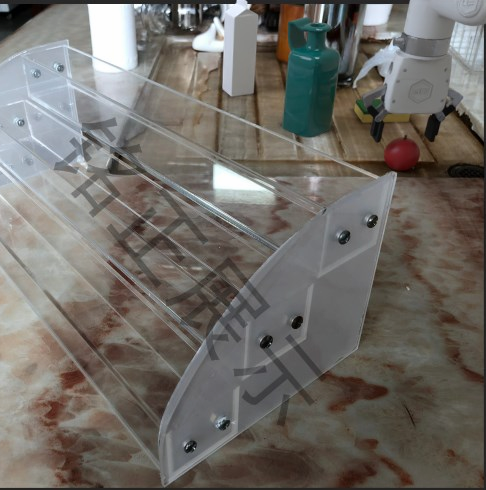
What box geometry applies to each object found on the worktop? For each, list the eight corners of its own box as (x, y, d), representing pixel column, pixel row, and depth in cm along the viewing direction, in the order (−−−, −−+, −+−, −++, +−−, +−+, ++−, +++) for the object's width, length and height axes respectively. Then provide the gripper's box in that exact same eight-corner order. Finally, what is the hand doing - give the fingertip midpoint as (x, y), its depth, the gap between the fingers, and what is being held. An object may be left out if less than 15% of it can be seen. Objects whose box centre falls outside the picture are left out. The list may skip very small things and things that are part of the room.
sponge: (398, 111, 135) (400, 98, 133) (408, 123, 129) (411, 110, 128) (353, 112, 135) (355, 99, 134) (362, 124, 130) (364, 111, 128)
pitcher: (334, 129, 127) (349, 23, 115) (308, 140, 123) (321, 31, 111) (299, 116, 134) (310, 14, 122) (273, 127, 130) (281, 22, 117)
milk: (231, 98, 145) (234, 3, 132) (222, 90, 150) (224, -3, 137) (254, 95, 146) (259, 0, 134) (244, 87, 151) (248, -6, 138)
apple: (409, 161, 114) (417, 127, 110) (420, 176, 109) (429, 141, 105) (377, 162, 114) (383, 128, 110) (386, 177, 109) (394, 142, 105)
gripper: (379, 52, 96) (360, 148, 106) (486, 51, 96) (457, 147, 106) (366, 38, 102) (349, 131, 112) (467, 37, 102) (442, 130, 112)
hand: (402, 139), depth 109 cm, fingers open, 9 cm apart
